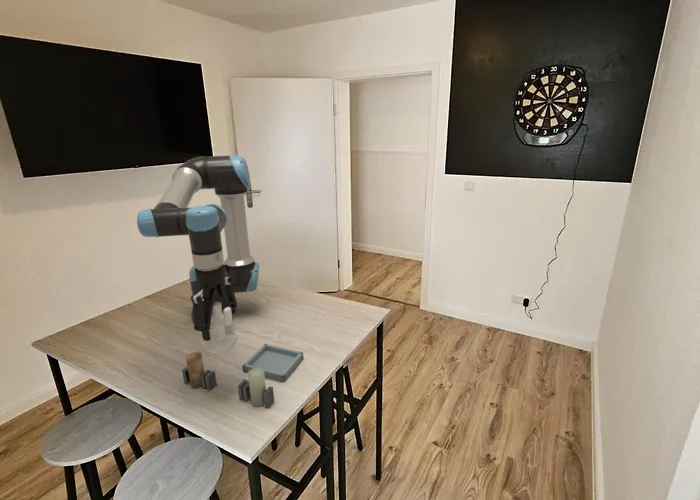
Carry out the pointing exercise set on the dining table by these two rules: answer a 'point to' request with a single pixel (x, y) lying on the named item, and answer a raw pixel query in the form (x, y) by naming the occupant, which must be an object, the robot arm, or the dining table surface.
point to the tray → (274, 362)
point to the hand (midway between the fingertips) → (220, 340)
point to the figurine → (221, 330)
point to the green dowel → (257, 386)
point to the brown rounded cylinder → (195, 369)
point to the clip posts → (243, 388)
